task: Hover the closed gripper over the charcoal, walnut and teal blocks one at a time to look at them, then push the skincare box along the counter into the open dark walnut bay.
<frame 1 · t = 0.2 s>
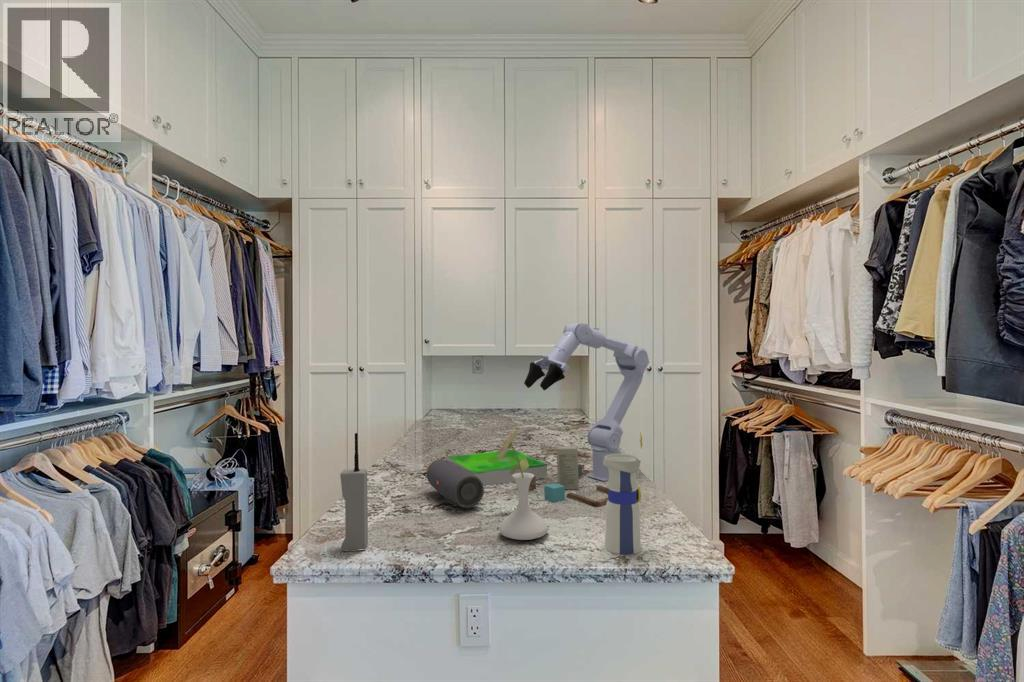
hand: (534, 386, 161), 31 cm above the countertop, tool tilted 45°, fingers open, 7 cm apart
water bottle: (623, 547, 119), on the countertop
walnut bay: (596, 496, 156), on the countertop
flower in vase: (521, 537, 126), on the countertop
bluetooth speaker: (453, 501, 153), on the countertop
teal block: (554, 500, 154), on the countertop
walnut block: (526, 489, 164), on the countertop
vintage mobile phone: (354, 549, 120), on the countertop
tray: (495, 475, 183), on the countertop
skincare box: (567, 488, 166), on the countertop
charcoal block: (572, 476, 179), on the countertop
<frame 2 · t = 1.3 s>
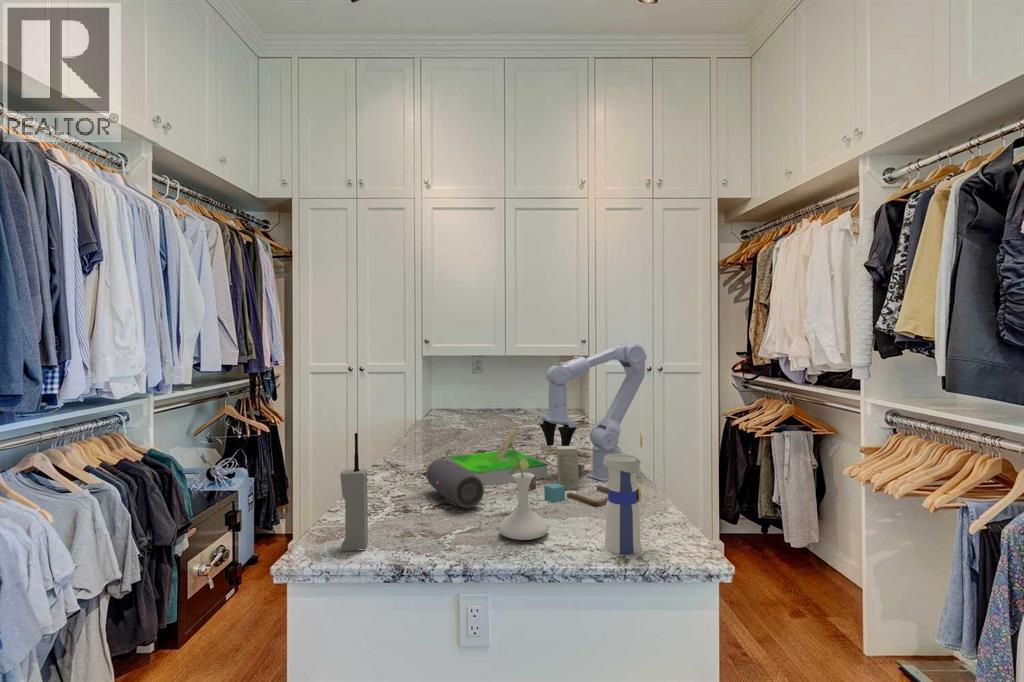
hand: (557, 447, 174), 10 cm above the countertop, tool pointing down, fingers open, 7 cm apart
nothing on the countertop moved.
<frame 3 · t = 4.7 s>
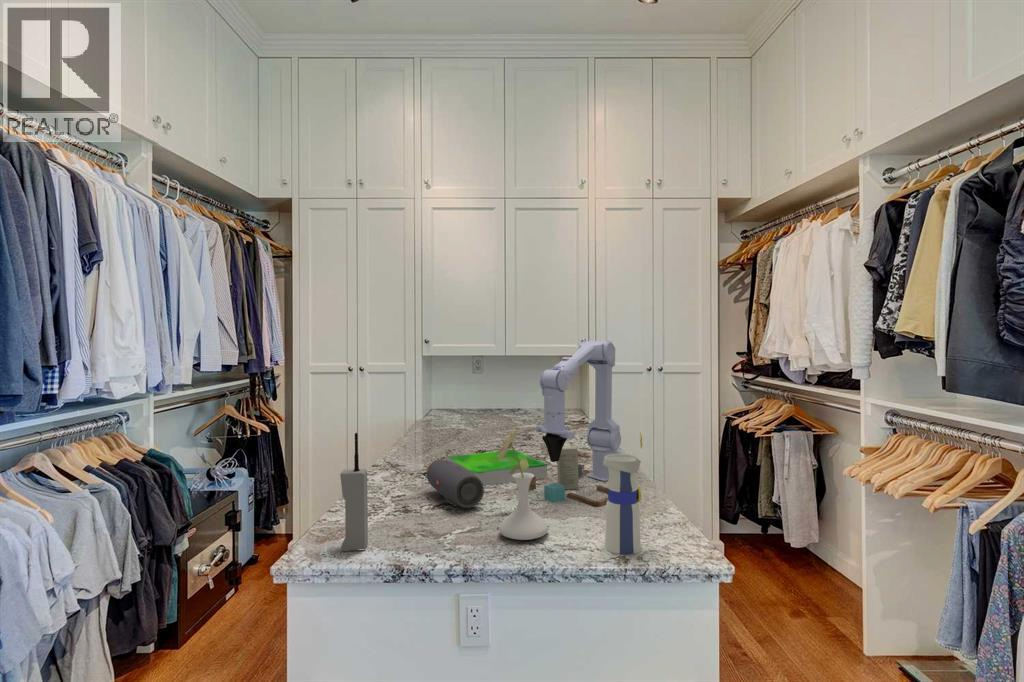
hand: (554, 461, 155), 10 cm above the countertop, tool pointing down, fingers closed
nothing on the countertop moved.
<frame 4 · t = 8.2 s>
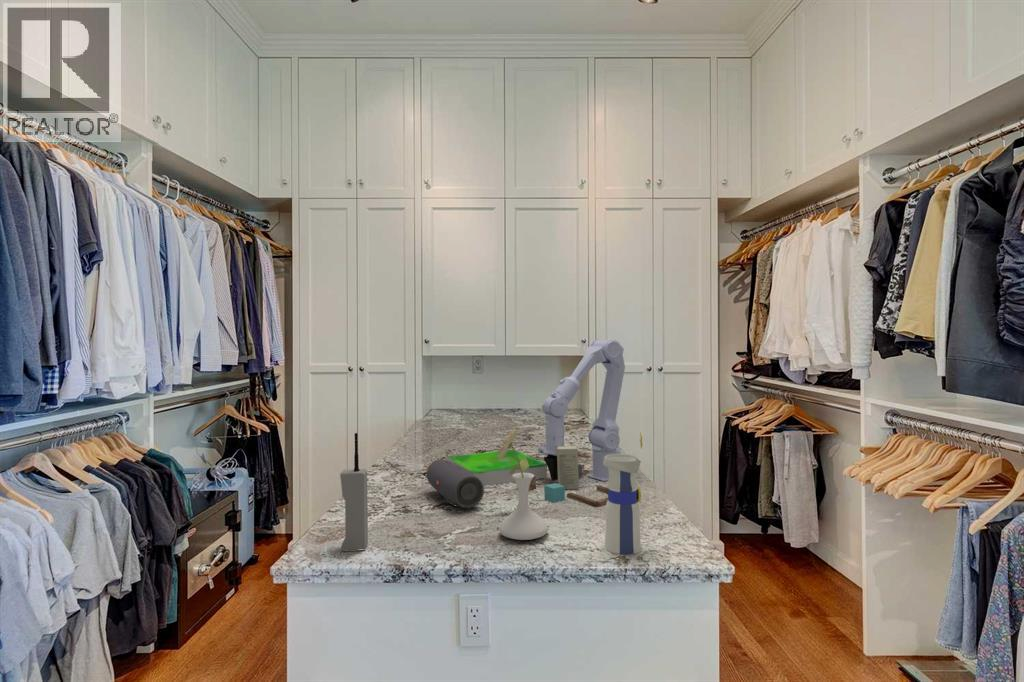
hand: (555, 480, 171), 1 cm above the countertop, tool pointing down, fingers closed
skincare box: (567, 488, 166), on the countertop, touching gripper
everything else where it was.
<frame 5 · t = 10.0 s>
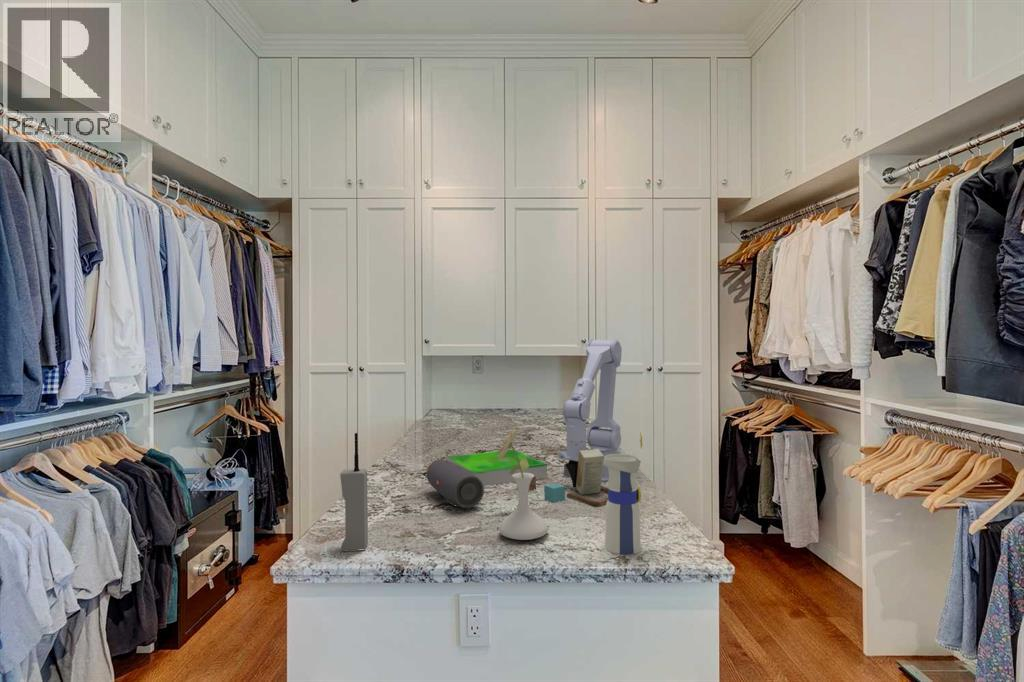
hand: (576, 486, 162), 1 cm above the countertop, tool pointing down, fingers closed, pressing on skincare box
skincare box: (587, 490, 161), on the countertop, touching gripper
everything else where it was.
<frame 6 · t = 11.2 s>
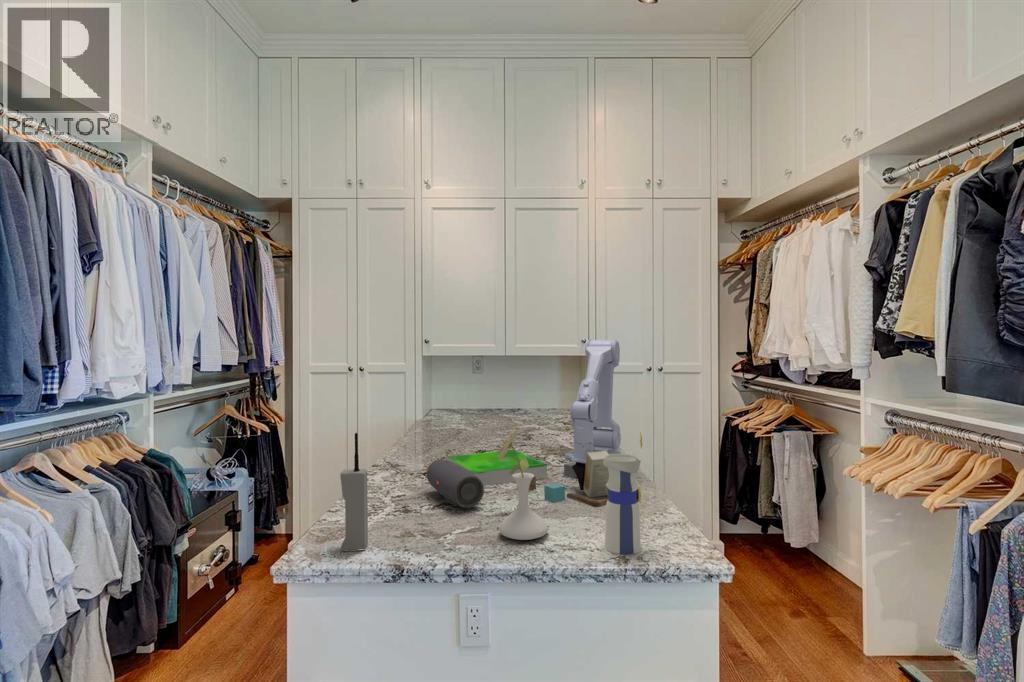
hand: (583, 489, 160), 1 cm above the countertop, tool pointing down, fingers closed
skincare box: (595, 493, 158), on the countertop, touching gripper
everything else where it was.
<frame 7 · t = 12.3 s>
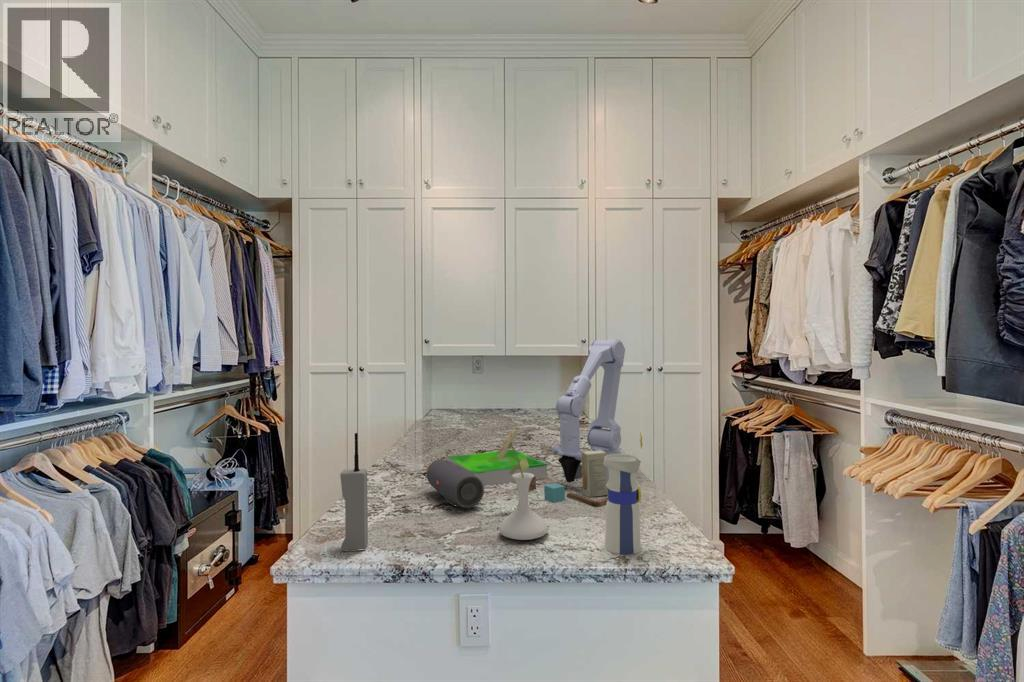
hand: (570, 481, 165), 2 cm above the countertop, tool pointing down, fingers closed
skincare box: (594, 495, 158), on the countertop
everything else where it was.
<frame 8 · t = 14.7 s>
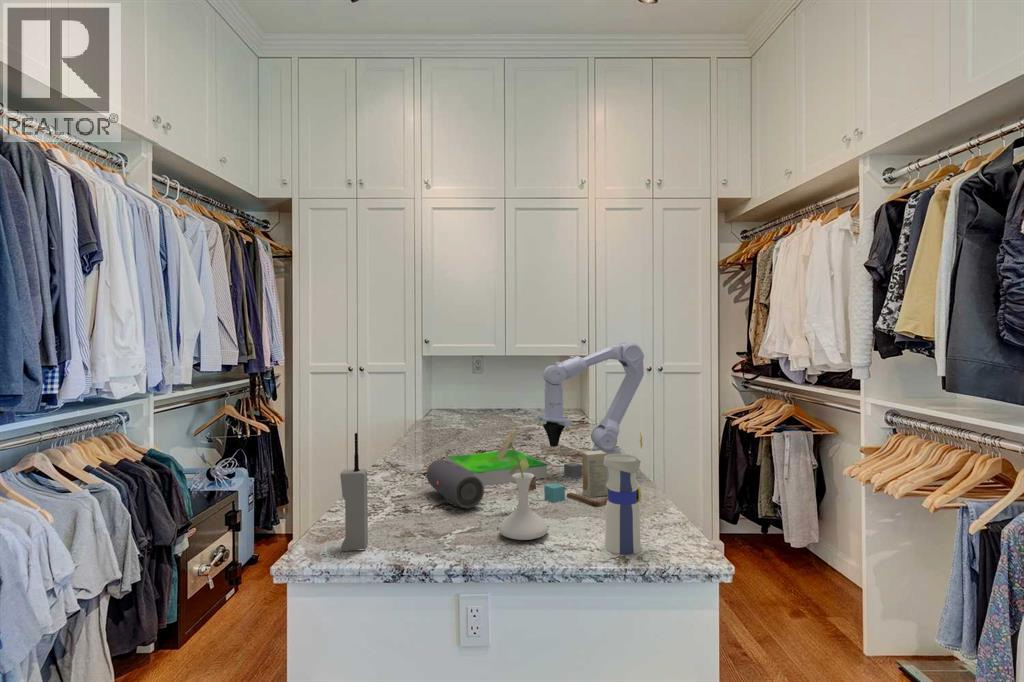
hand: (554, 446, 175), 10 cm above the countertop, tool pointing down, fingers closed
nothing on the countertop moved.
at the end: skincare box inside the target area (2.7 cm from its centre), on the countertop; skincare box tilted 0°; teal block moved 0.1 cm from its start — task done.
